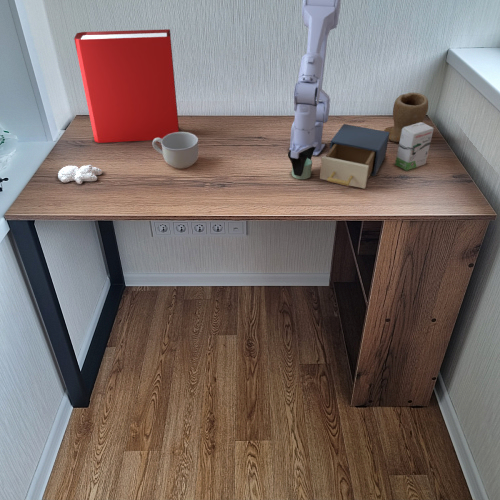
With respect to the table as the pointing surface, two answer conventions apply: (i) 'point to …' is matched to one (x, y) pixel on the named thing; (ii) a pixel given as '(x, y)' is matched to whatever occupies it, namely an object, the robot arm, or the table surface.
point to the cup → (305, 170)
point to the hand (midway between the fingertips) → (301, 170)
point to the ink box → (414, 146)
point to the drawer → (347, 165)
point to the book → (128, 84)
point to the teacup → (178, 149)
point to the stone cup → (407, 113)
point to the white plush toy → (79, 174)
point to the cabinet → (363, 141)
